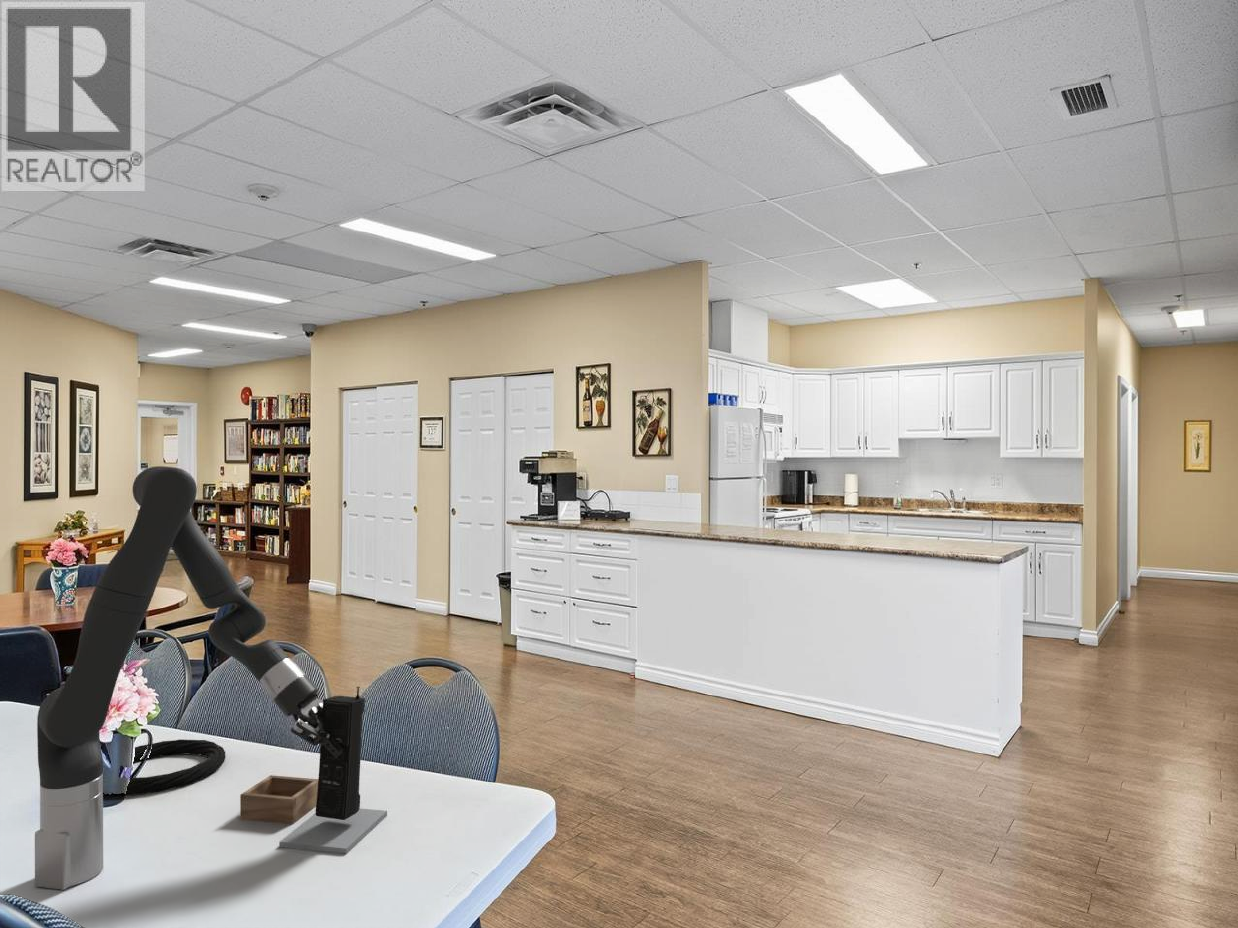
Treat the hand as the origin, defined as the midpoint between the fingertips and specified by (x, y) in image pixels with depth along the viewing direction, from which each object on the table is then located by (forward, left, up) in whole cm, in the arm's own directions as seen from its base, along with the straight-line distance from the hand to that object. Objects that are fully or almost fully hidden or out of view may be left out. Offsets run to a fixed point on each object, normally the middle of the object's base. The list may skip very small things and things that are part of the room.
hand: (344, 751), depth 155 cm
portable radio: (0, +2, -13) cm, 13 cm away
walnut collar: (+6, +18, -16) cm, 25 cm away
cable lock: (+18, +59, -17) cm, 64 cm away
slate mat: (0, +2, -16) cm, 16 cm away
